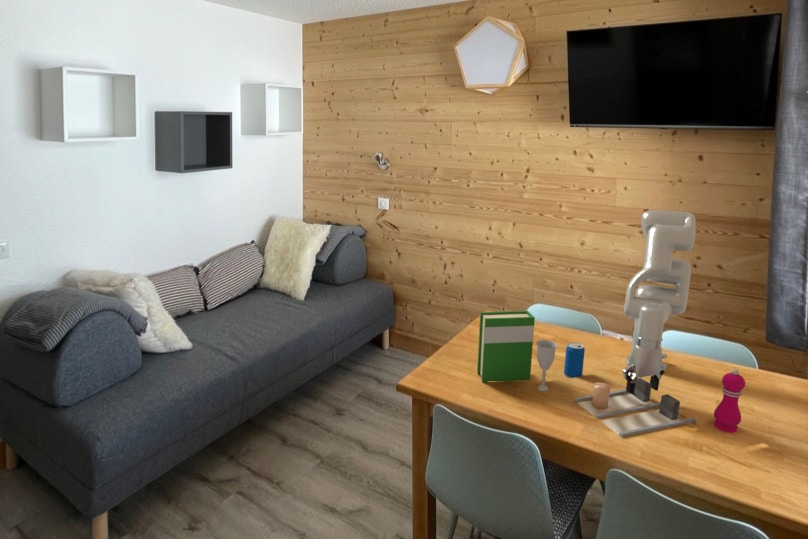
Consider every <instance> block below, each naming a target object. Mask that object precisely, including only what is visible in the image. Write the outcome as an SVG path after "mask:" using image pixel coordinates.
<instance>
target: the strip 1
mask: <svg viewBox="0 0 808 539" xmlns="http://www.w3.org/2000/svg"><path fill="white" fill-rule="evenodd" d="M634 383H635V392H634V394H633V395H632V394H630V393H625V394H619V395H614V396H609V402H608V408H607V409H604V410H602V409H597V408H594V407H593V406H592V399H591V400H586V401H580V402H576V404H577V405H579V406H580V407H581V408H583V409H584V410H585V411H587V412H588V413H589V414H591V415H593V416H594V415H595V414H601V413H606V412H611V411H617V410H622V409H627V408H632V407H638V406H643V405H648V404H654V402H652V401H651V400H650V399H651V393H652V388H651V385H652V384H650V382H648V381H647V380H645V379H644V378H643V377H638V378H637V379H636V381H635V382H634Z"/></svg>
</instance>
